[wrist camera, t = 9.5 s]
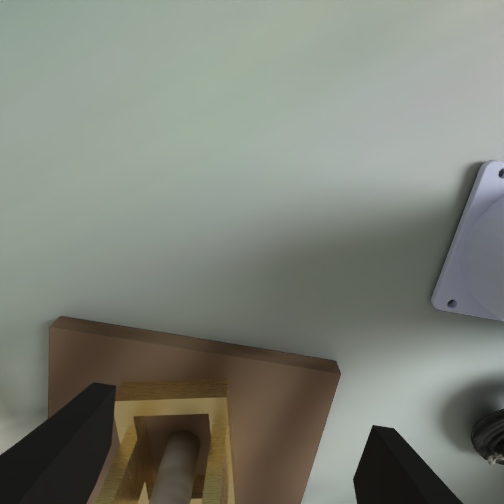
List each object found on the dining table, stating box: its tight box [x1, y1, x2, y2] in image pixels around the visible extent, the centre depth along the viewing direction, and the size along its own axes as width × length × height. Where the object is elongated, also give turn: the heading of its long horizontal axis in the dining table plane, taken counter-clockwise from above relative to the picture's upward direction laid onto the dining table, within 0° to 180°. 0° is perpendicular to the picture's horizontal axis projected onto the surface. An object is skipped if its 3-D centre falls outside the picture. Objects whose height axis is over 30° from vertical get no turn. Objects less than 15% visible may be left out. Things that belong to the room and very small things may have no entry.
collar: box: [95, 379, 237, 504], centre depth 18 cm, size 6×8×6 cm
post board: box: [48, 316, 341, 504], centre depth 19 cm, size 16×13×6 cm
